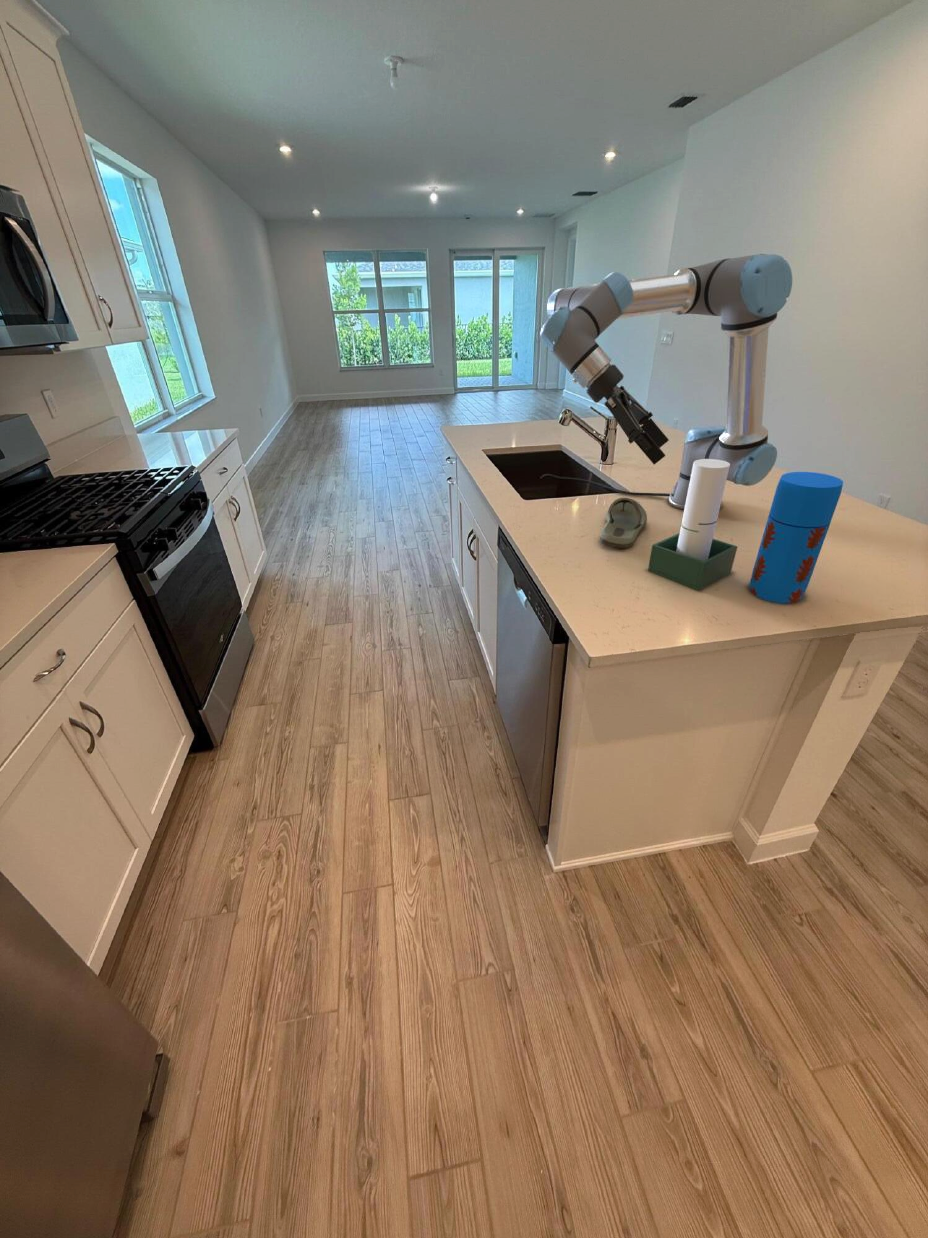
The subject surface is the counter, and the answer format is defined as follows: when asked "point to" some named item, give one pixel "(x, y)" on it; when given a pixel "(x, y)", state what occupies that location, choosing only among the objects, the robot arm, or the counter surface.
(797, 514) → the thermos
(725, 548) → the tray
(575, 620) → the counter surface
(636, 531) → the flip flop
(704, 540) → the cylindrical container
